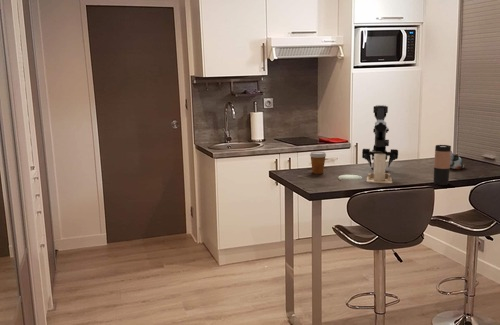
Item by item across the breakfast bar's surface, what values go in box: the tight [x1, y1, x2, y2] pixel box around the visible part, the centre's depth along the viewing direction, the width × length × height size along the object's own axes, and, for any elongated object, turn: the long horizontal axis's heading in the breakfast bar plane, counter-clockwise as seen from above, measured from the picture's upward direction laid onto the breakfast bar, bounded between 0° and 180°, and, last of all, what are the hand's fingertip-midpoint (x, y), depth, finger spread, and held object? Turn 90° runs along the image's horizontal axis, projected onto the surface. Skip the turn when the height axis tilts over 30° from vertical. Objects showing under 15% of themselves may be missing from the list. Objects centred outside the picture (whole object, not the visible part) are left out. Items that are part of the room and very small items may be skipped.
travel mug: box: [433, 144, 452, 186], centre depth 246 cm, size 8×8×20 cm
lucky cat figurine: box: [450, 150, 465, 170], centre depth 287 cm, size 15×12×14 cm
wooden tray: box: [366, 172, 393, 184], centre depth 254 cm, size 13×13×4 cm
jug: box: [373, 153, 387, 181], centre depth 252 cm, size 8×6×14 cm
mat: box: [337, 174, 363, 181], centre depth 262 cm, size 13×13×1 cm
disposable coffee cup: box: [309, 151, 327, 175], centre depth 278 cm, size 10×10×12 cm
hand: (379, 166), depth 252 cm, fingers open, 9 cm apart
